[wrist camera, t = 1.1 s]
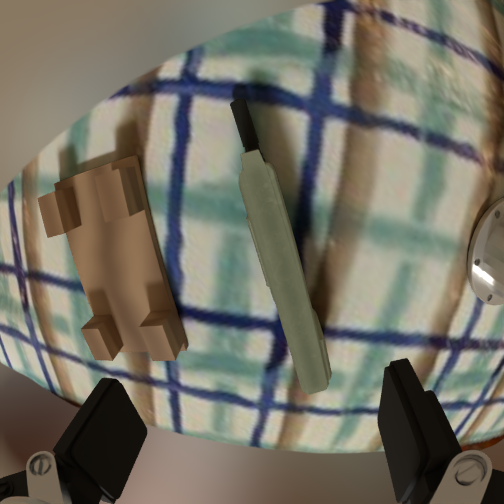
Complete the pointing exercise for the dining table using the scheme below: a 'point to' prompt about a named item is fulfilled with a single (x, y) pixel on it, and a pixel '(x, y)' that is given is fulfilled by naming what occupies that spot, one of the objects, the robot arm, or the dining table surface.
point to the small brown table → (116, 261)
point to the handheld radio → (280, 258)
